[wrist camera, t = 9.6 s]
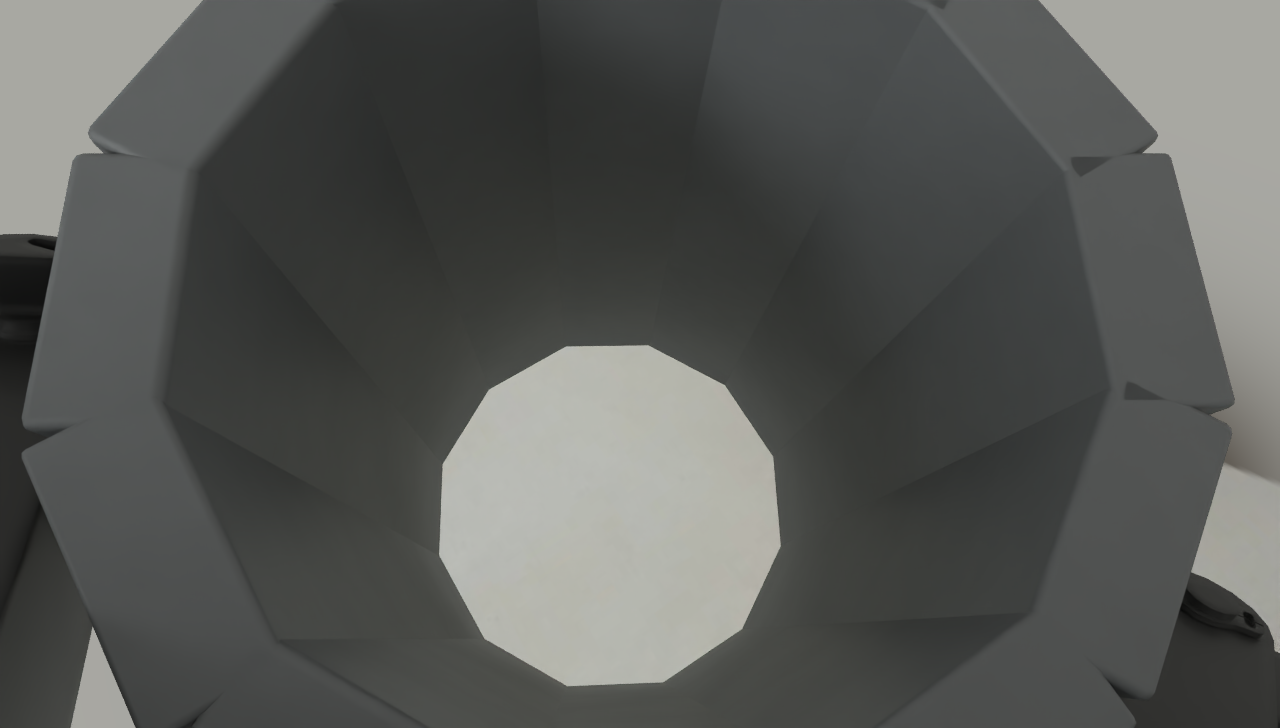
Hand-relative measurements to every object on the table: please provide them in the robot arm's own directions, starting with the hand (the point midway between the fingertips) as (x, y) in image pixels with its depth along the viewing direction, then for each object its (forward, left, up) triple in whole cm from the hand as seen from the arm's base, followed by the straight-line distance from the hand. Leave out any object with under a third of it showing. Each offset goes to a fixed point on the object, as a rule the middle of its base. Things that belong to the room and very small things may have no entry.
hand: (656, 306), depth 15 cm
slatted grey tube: (+1, -3, -4) cm, 5 cm away
